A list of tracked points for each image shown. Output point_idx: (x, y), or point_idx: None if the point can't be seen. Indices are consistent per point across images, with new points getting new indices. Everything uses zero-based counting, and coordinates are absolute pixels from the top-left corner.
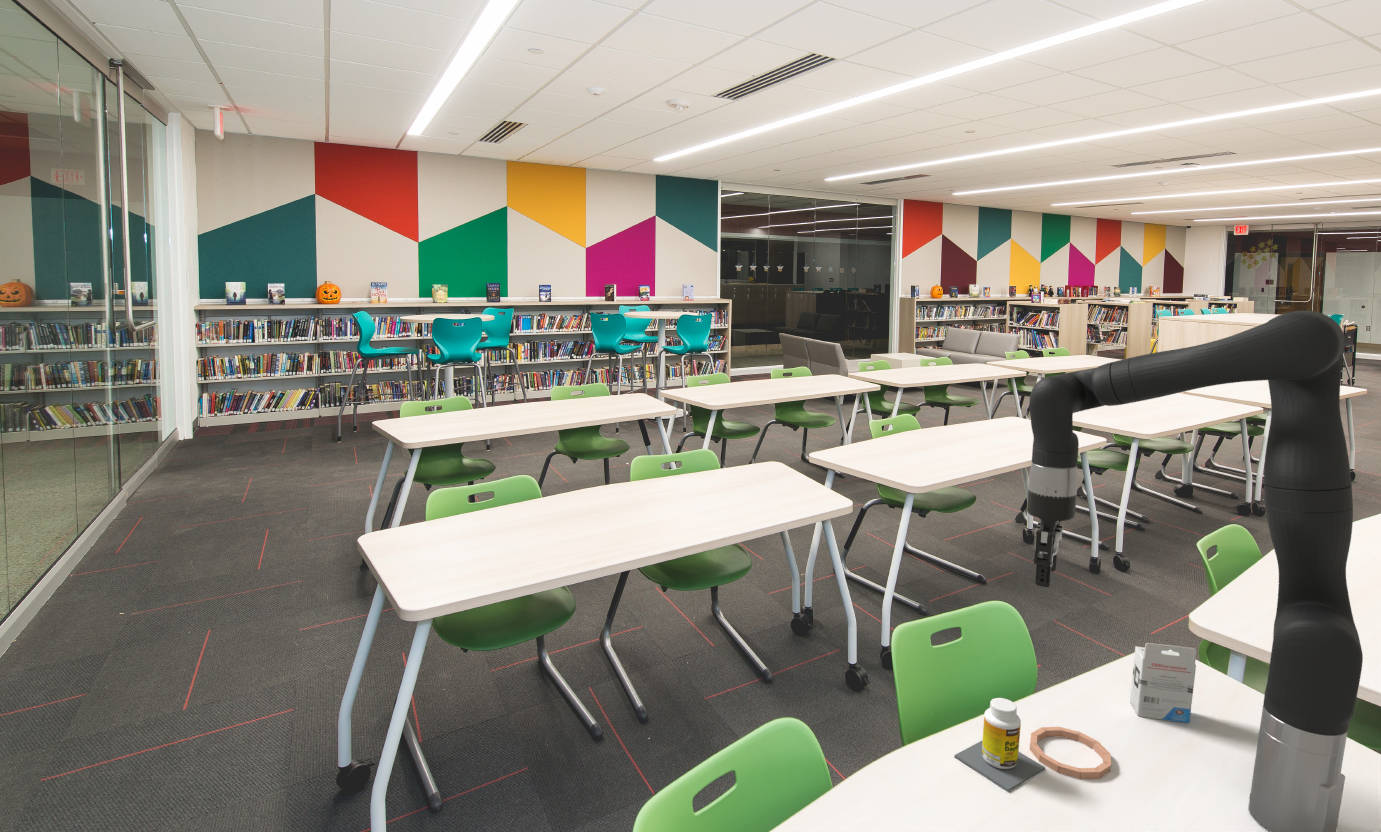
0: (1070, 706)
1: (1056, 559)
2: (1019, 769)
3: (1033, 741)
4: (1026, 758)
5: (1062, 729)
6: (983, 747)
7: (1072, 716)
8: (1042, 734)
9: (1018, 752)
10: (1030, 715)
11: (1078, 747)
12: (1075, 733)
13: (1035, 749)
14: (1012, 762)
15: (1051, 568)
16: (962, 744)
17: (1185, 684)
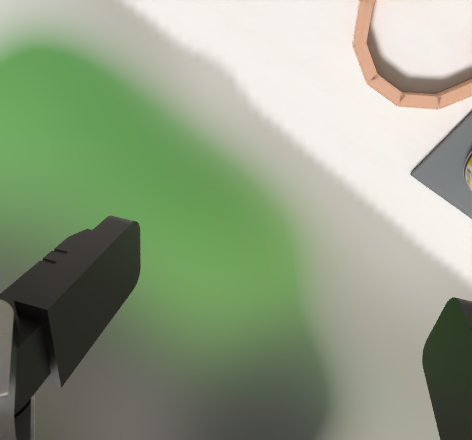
0: (232, 15)
1: (85, 263)
2: None
3: (429, 102)
4: None
5: (362, 39)
6: None
7: (273, 12)
8: (388, 82)
9: (461, 129)
10: (302, 100)
11: (398, 3)
12: (370, 10)
13: (461, 99)
14: None
15: (130, 245)
16: (447, 220)
17: None
